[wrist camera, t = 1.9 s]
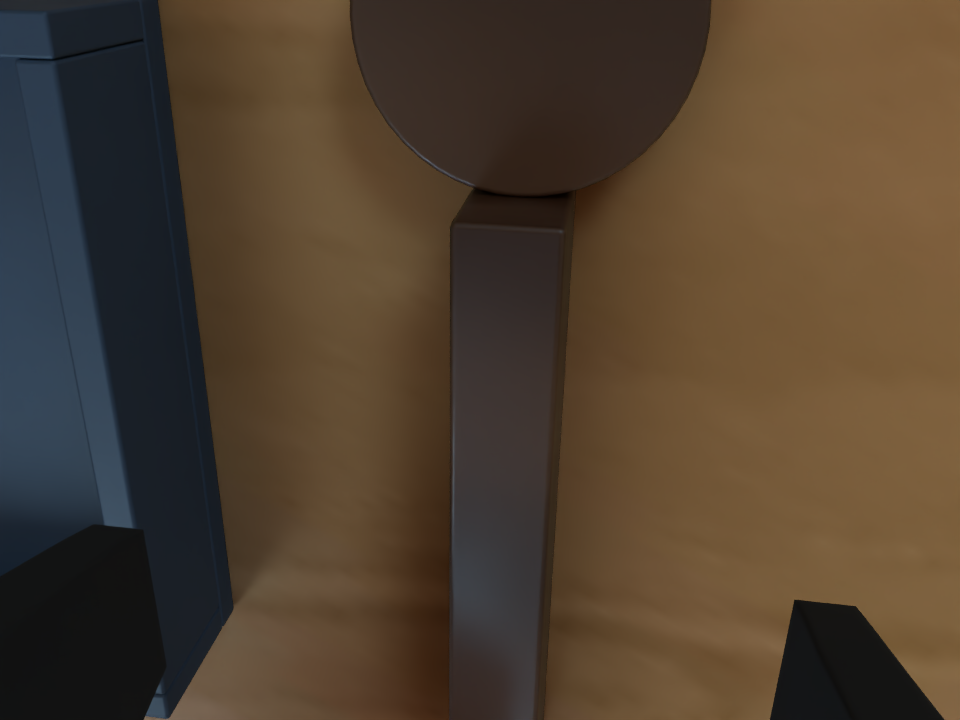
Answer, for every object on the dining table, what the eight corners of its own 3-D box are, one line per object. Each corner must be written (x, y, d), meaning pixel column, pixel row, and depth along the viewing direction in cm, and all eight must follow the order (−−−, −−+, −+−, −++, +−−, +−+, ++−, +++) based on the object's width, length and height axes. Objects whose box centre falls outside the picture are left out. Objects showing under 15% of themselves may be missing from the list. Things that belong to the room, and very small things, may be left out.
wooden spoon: (622, 742, 20) (621, 852, 17) (393, 712, 20) (362, 814, 18) (726, -181, 12) (748, -207, 10) (363, -182, 13) (304, -206, 11)
